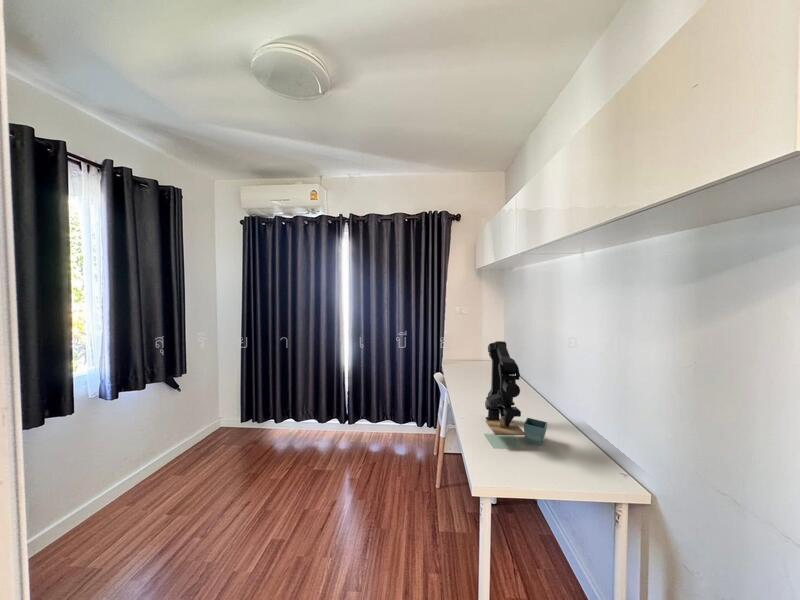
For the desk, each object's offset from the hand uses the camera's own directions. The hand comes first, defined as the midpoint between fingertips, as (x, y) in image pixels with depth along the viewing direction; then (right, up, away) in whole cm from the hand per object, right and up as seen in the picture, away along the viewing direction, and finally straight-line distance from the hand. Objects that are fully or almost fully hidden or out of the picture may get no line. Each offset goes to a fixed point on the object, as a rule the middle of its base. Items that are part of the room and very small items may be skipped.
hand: (504, 424), depth 151 cm
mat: (0, -8, +1) cm, 8 cm away
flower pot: (+14, -9, +1) cm, 16 cm away
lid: (0, -2, 0) cm, 2 cm away
